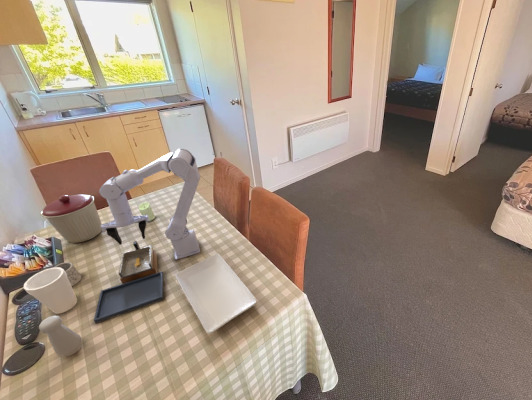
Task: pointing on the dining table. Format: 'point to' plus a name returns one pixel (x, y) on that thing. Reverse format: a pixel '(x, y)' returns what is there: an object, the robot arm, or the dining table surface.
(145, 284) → the tray
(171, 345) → the dining table surface
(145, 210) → the candle
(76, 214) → the canister
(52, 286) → the foam cup
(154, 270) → the shallow wooden box
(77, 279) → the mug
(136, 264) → the key
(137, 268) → the dish
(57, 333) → the salt shaker
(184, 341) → the dining table surface
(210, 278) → the tray
